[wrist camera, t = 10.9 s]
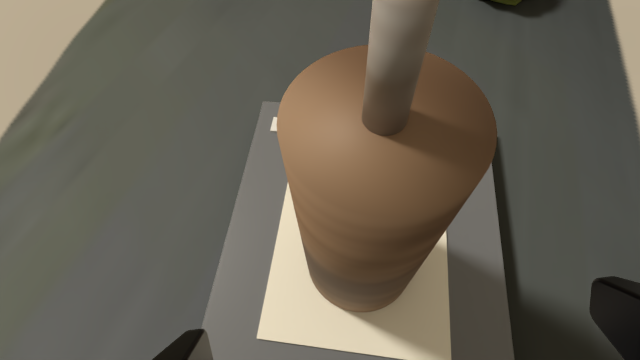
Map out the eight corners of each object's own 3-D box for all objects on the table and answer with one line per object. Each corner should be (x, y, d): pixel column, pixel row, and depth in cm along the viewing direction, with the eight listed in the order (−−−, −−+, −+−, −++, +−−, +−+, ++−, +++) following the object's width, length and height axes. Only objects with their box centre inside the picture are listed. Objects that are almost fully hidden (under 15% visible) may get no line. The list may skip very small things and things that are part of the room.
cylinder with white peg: (379, 335, 15) (509, 180, 4) (286, 272, 16) (179, 24, 5) (429, 243, 17) (618, -46, 6) (342, 194, 18) (353, -113, 7)
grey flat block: (513, 464, 14) (529, 472, 13) (189, 410, 15) (177, 412, 14) (479, 130, 21) (486, 115, 20) (266, 114, 23) (262, 100, 22)
